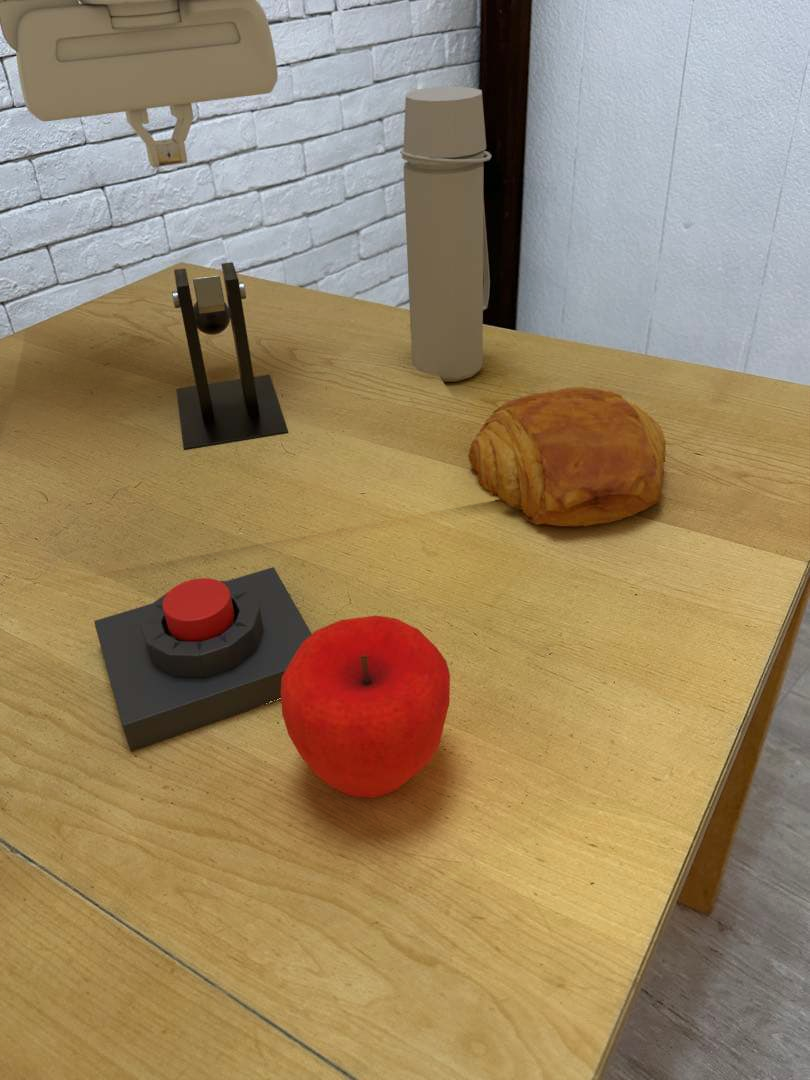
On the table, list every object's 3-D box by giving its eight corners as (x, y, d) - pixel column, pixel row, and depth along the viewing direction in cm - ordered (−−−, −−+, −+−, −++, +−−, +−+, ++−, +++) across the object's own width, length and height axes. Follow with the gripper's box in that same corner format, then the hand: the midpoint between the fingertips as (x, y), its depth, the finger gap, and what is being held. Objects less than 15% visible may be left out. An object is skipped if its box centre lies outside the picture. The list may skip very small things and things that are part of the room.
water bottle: (448, 394, 86) (442, 106, 71) (394, 369, 90) (378, 95, 76) (515, 364, 90) (522, 87, 76) (460, 342, 95) (457, 79, 81)
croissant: (466, 469, 78) (452, 386, 74) (644, 431, 78) (640, 345, 73) (494, 565, 66) (479, 473, 62) (704, 522, 66) (703, 425, 61)
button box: (130, 752, 51) (114, 702, 49) (102, 646, 59) (86, 598, 56) (329, 683, 55) (322, 634, 53) (277, 591, 62) (270, 544, 60)
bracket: (178, 400, 87) (148, 258, 79) (271, 386, 89) (251, 245, 81) (186, 461, 78) (152, 306, 70) (290, 443, 79) (268, 291, 71)
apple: (473, 813, 47) (472, 707, 42) (304, 849, 46) (284, 743, 41) (432, 692, 54) (428, 590, 49) (285, 720, 53) (267, 618, 48)
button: (176, 651, 53) (170, 628, 52) (161, 611, 56) (155, 589, 55) (242, 630, 54) (238, 607, 53) (224, 592, 57) (220, 570, 56)
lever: (196, 339, 88) (189, 302, 87) (233, 334, 88) (226, 297, 88) (191, 316, 75) (182, 272, 74) (234, 310, 75) (226, 266, 75)
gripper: (-8, -15, 63) (47, 191, 71) (272, -36, 70) (292, 154, 78) (-15, -19, 68) (37, 174, 76) (247, -39, 74) (269, 141, 82)
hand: (168, 164), depth 77 cm, fingers closed
